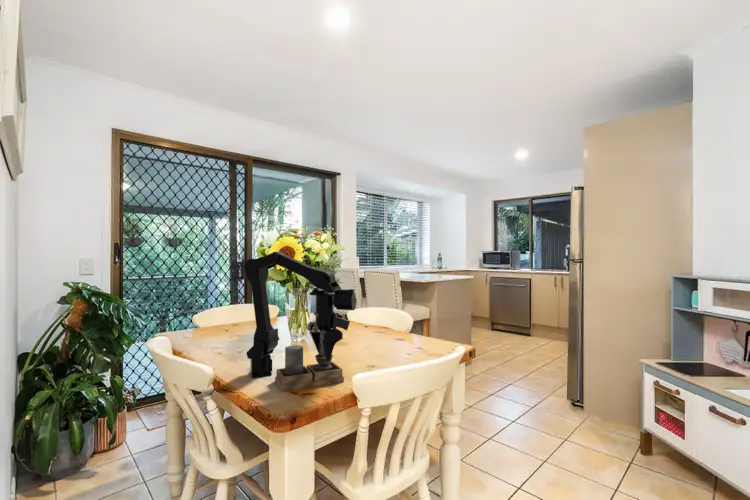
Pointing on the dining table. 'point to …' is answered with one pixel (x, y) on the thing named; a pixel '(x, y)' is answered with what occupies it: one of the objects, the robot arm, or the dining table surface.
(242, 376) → the dining table surface
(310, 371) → the condiment rack
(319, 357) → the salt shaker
